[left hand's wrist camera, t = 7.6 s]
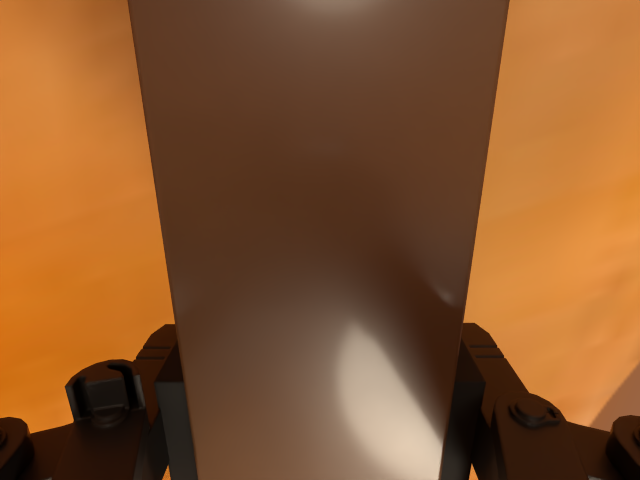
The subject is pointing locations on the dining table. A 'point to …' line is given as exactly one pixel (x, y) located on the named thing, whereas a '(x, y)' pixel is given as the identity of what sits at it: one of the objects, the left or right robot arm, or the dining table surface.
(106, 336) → the dining table surface
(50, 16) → the dining table surface
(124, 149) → the dining table surface
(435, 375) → the beam
